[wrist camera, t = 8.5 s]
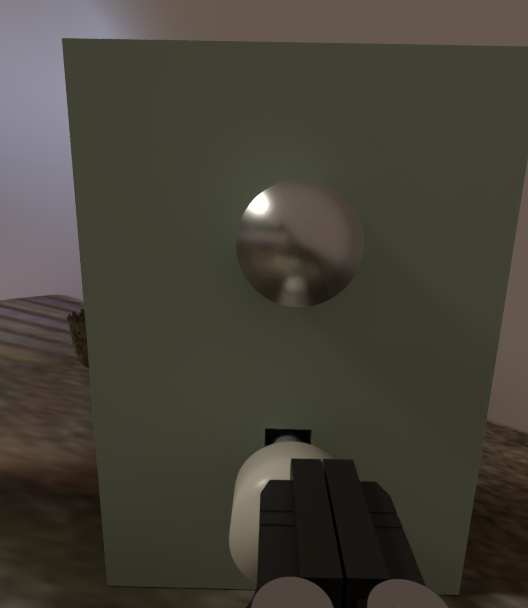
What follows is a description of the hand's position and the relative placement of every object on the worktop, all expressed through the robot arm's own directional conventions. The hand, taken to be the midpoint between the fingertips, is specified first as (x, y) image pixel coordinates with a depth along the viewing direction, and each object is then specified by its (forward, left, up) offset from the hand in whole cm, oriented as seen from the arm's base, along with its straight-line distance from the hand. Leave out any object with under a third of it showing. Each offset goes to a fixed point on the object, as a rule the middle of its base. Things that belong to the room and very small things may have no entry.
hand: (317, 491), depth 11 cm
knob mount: (+12, +10, -15) cm, 21 cm away
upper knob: (+9, +8, +2) cm, 12 cm away
